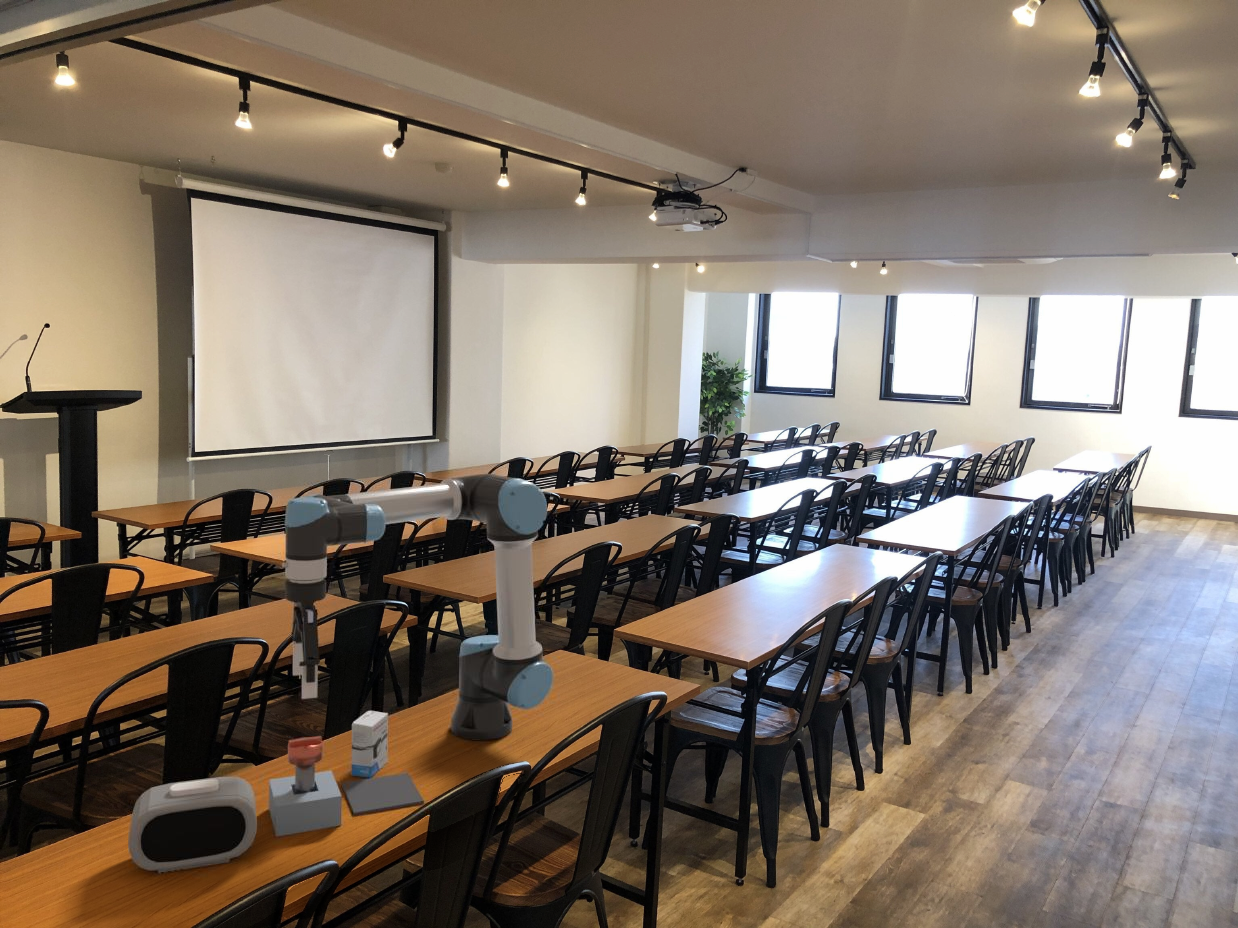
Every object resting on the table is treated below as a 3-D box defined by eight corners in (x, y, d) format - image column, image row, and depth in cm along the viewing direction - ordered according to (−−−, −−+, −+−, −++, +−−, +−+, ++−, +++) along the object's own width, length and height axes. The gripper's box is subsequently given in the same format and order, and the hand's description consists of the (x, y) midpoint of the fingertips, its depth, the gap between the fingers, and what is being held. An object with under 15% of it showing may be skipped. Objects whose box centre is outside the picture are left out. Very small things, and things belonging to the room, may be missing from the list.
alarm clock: (128, 881, 159) (127, 806, 157) (132, 853, 168) (131, 782, 166) (257, 860, 167) (257, 789, 166) (254, 834, 176) (255, 767, 174)
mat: (407, 774, 203) (407, 772, 203) (423, 803, 191) (423, 800, 191) (341, 785, 197) (341, 782, 197) (354, 815, 185) (354, 812, 185)
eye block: (331, 798, 191) (331, 770, 191) (341, 825, 181) (341, 795, 180) (269, 808, 186) (269, 779, 185) (275, 836, 175) (276, 806, 175)
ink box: (370, 778, 201) (371, 726, 200) (349, 775, 202) (350, 723, 201) (388, 762, 209) (389, 712, 208) (368, 759, 210) (368, 709, 209)
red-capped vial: (319, 806, 188) (319, 730, 186) (324, 821, 182) (324, 742, 180) (285, 812, 185) (286, 734, 183) (289, 827, 179) (290, 747, 177)
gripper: (278, 565, 188) (277, 667, 190) (293, 595, 165) (292, 710, 168) (316, 563, 191) (315, 663, 193) (336, 592, 169) (335, 705, 171)
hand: (304, 685), depth 181 cm, fingers open, 13 cm apart
